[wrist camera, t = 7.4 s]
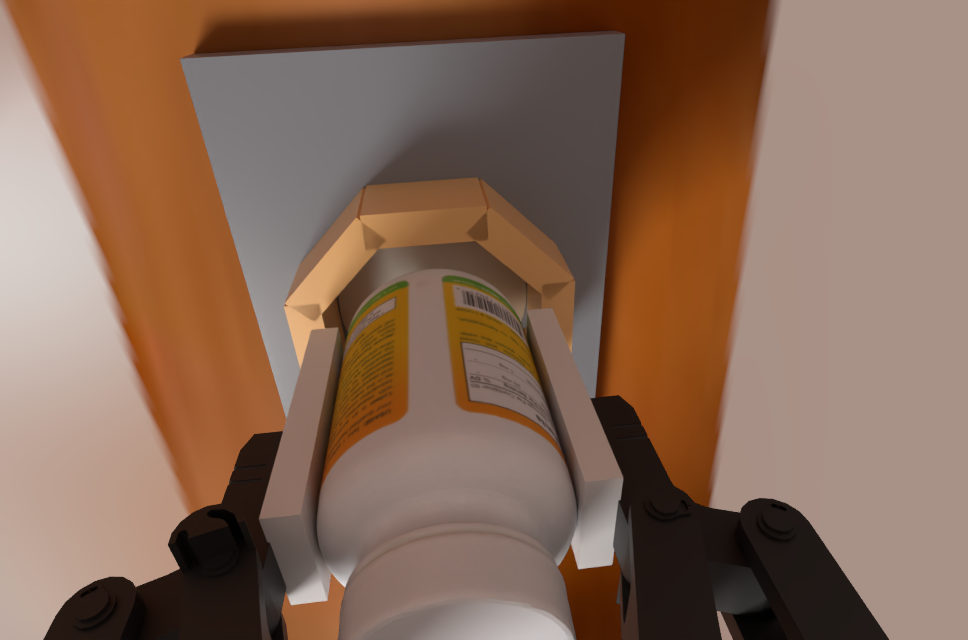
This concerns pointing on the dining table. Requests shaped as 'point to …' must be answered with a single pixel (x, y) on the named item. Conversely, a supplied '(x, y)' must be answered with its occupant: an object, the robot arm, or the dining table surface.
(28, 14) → the dining table surface
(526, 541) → the supplement bottle
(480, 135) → the socket plate
